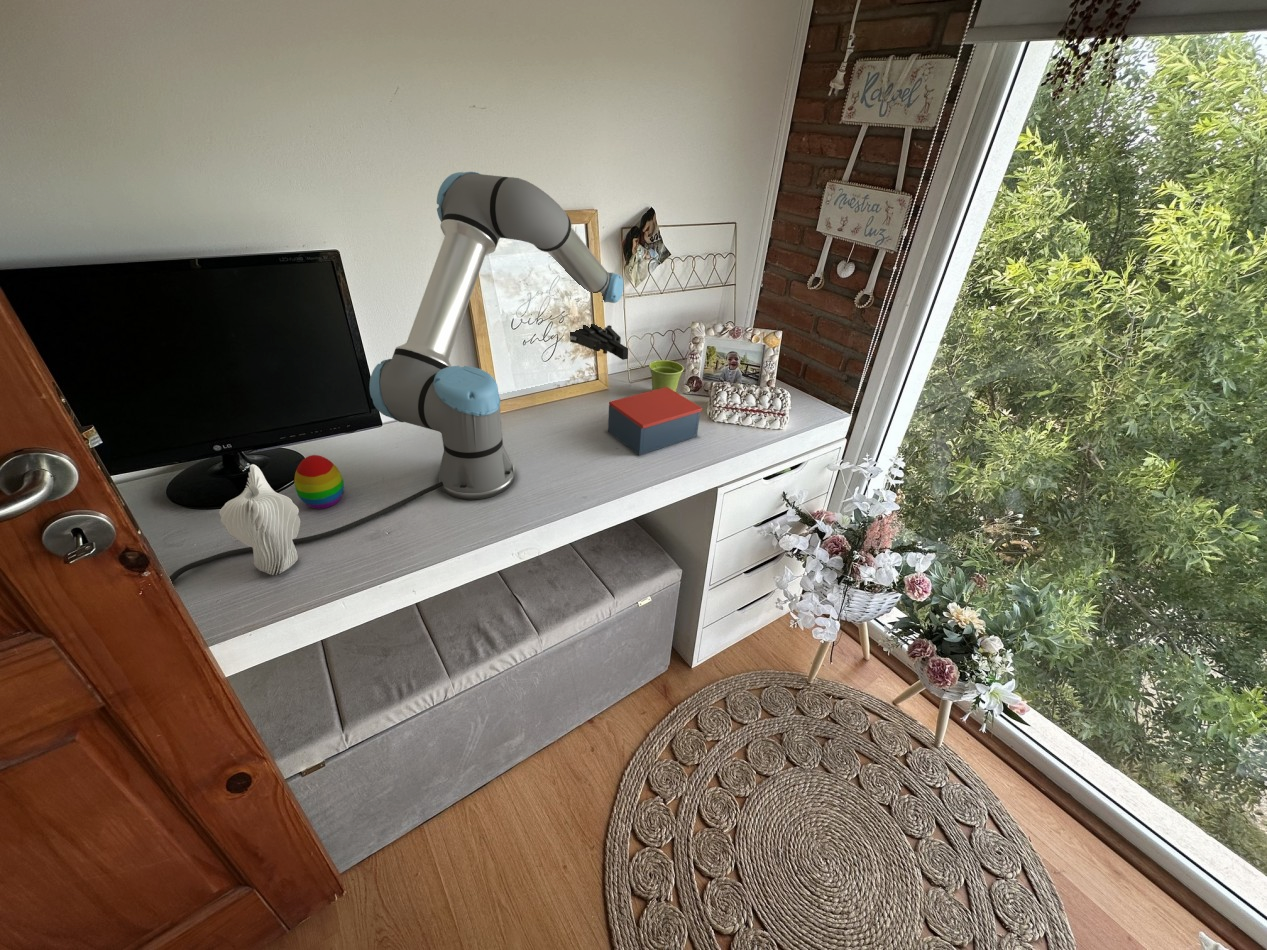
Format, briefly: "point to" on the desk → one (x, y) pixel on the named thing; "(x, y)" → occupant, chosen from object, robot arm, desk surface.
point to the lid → (655, 407)
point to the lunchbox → (651, 431)
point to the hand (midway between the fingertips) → (625, 354)
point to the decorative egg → (318, 482)
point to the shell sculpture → (264, 523)
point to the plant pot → (665, 374)
